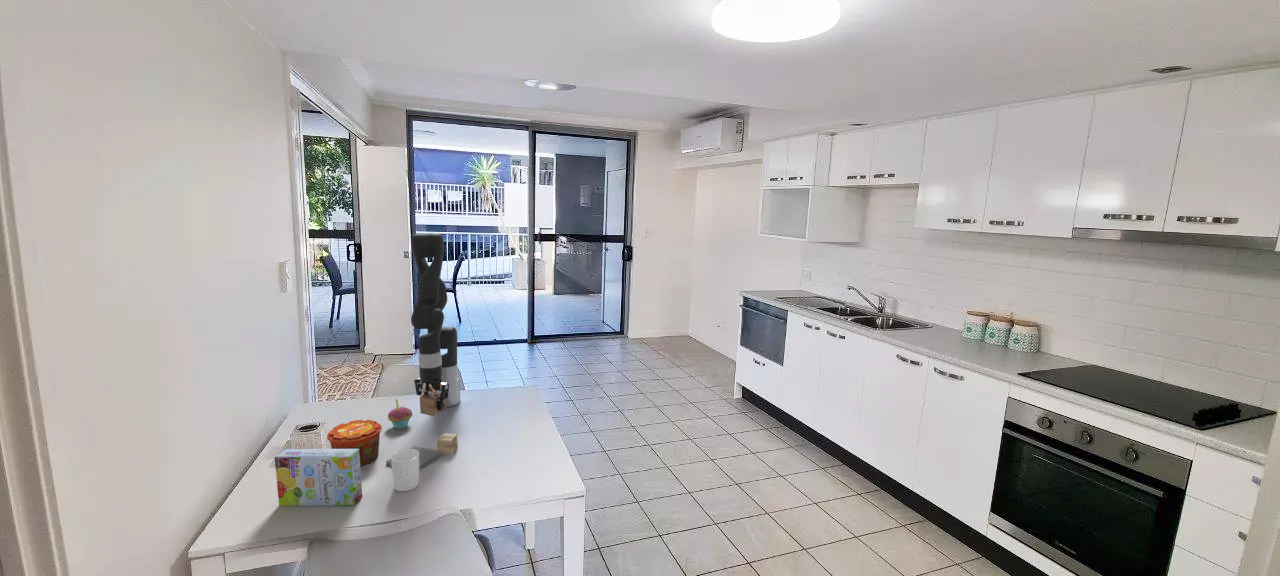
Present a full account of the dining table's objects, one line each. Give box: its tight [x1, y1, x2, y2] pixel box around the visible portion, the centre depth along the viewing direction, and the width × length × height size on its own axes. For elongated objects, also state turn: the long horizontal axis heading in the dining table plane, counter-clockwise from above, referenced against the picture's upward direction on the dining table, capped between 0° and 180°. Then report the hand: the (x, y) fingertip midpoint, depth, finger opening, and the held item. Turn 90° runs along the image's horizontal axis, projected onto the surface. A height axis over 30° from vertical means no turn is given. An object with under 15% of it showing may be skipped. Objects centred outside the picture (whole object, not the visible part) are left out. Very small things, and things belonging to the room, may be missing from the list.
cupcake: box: [387, 397, 413, 430], centre depth 202 cm, size 9×8×12 cm
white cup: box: [390, 448, 420, 492], centre depth 161 cm, size 8×8×10 cm
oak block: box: [436, 433, 458, 455], centre depth 184 cm, size 5×5×5 cm
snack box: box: [274, 448, 363, 507], centre depth 152 cm, size 21×6×15 cm, turn 92°
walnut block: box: [419, 391, 447, 417], centre depth 191 cm, size 6×6×6 cm
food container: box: [326, 419, 383, 467], centre depth 177 cm, size 16×16×11 cm
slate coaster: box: [385, 445, 443, 470], centre depth 177 cm, size 12×12×1 cm
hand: (433, 408), depth 192 cm, fingers closed on walnut block, 6 cm apart
